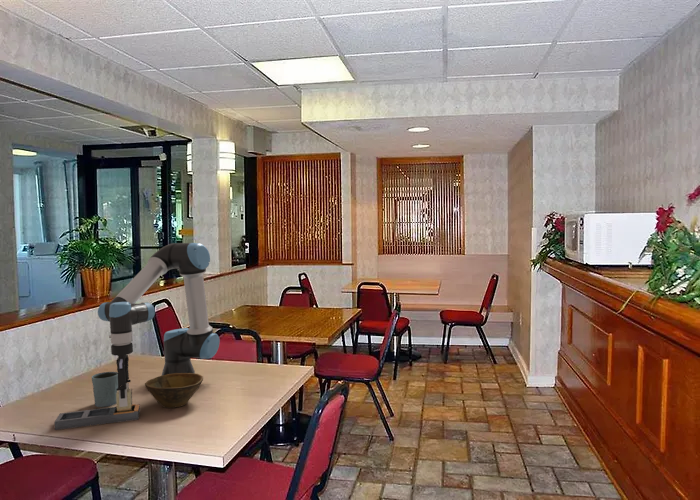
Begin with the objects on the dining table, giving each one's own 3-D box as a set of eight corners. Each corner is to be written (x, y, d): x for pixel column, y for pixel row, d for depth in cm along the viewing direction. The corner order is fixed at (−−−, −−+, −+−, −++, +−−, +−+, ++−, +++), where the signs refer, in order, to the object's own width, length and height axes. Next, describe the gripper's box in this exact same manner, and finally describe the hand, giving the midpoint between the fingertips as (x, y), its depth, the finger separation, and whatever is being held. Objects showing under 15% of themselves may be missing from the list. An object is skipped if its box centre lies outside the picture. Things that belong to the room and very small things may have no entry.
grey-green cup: (93, 409, 212) (91, 379, 211) (92, 402, 221) (91, 373, 220) (120, 404, 216) (119, 375, 216) (119, 397, 225) (117, 369, 225)
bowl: (186, 391, 232) (185, 368, 231) (213, 403, 216) (212, 379, 215) (136, 404, 217) (135, 380, 216) (162, 418, 200) (160, 392, 200)
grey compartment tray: (140, 411, 208) (139, 403, 208) (138, 419, 199) (137, 411, 199) (60, 421, 200) (59, 412, 199) (54, 429, 191) (54, 421, 191)
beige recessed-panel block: (132, 414, 205) (131, 387, 205) (131, 418, 201) (130, 391, 200) (118, 415, 204) (117, 389, 203) (117, 420, 199) (116, 393, 198)
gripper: (114, 338, 209) (116, 396, 210) (107, 350, 190) (110, 413, 191) (134, 337, 211) (137, 394, 212) (130, 348, 192) (132, 410, 194)
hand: (124, 403), depth 202 cm, fingers open, 7 cm apart
